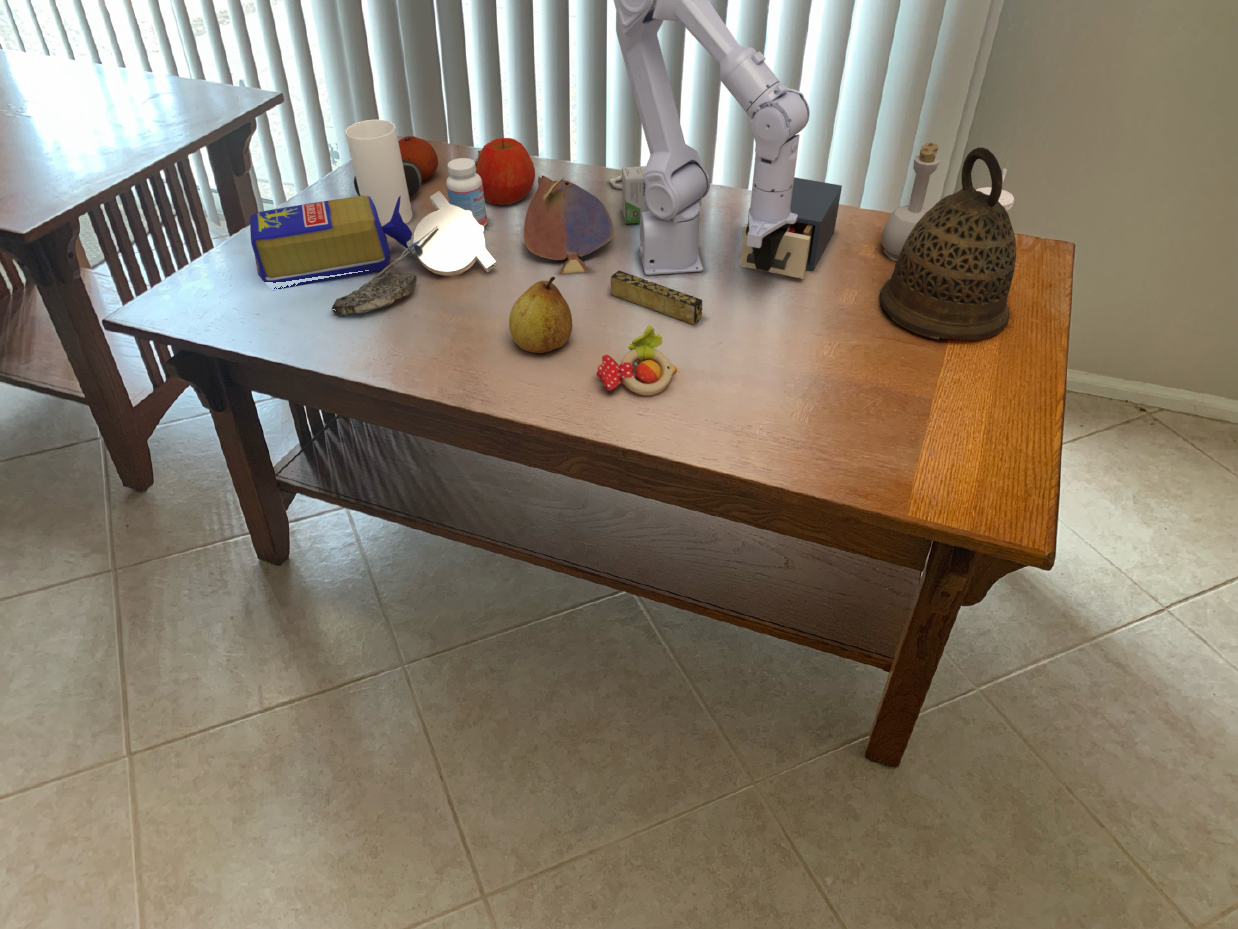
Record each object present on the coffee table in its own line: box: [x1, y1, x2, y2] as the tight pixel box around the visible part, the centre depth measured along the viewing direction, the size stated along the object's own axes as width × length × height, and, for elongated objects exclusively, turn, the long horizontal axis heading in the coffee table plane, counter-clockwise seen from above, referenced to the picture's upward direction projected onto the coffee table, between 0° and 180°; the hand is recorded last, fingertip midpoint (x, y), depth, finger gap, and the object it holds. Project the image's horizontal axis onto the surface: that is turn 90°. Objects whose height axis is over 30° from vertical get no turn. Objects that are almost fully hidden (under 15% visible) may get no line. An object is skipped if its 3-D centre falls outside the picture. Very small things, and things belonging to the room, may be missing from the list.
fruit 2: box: [508, 276, 573, 354], centre depth 121 cm, size 9×9×12 cm
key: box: [609, 175, 622, 190], centre depth 161 cm, size 12×1×4 cm
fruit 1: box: [398, 135, 439, 182], centre depth 163 cm, size 9×9×8 cm
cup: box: [345, 119, 414, 226], centre depth 149 cm, size 8×8×16 cm
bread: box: [249, 195, 414, 290], centre depth 138 cm, size 10×25×10 cm, turn 108°
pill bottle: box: [445, 157, 488, 228], centre depth 148 cm, size 6×6×11 cm
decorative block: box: [610, 270, 703, 326], centre depth 130 cm, size 15×2×4 cm, turn 55°
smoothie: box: [975, 168, 1015, 213], centre depth 137 cm, size 6×6×14 cm
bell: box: [879, 146, 1017, 341], centre depth 122 cm, size 19×26×20 cm
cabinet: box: [747, 176, 843, 272], centre depth 142 cm, size 14×12×9 cm
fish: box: [523, 175, 615, 275], centre depth 142 cm, size 20×12×15 cm
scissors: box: [375, 226, 438, 278], centre depth 137 cm, size 14×8×1 cm
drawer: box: [739, 222, 815, 280], centre depth 137 cm, size 17×10×7 cm, turn 156°
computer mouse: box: [353, 160, 423, 198], centre depth 156 cm, size 7×12×4 cm
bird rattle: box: [595, 325, 678, 396], centre depth 116 cm, size 6×11×9 cm
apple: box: [476, 137, 536, 206], centre depth 155 cm, size 11×11×11 cm
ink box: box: [621, 165, 649, 225], centre depth 150 cm, size 8×5×12 cm
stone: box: [331, 271, 417, 316], centre depth 133 cm, size 14×8×3 cm, turn 144°
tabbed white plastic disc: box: [412, 190, 497, 277], centre depth 139 cm, size 15×8×11 cm
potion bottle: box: [880, 142, 940, 262], centre depth 136 cm, size 9×9×18 cm
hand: (763, 268), depth 131 cm, fingers closed
